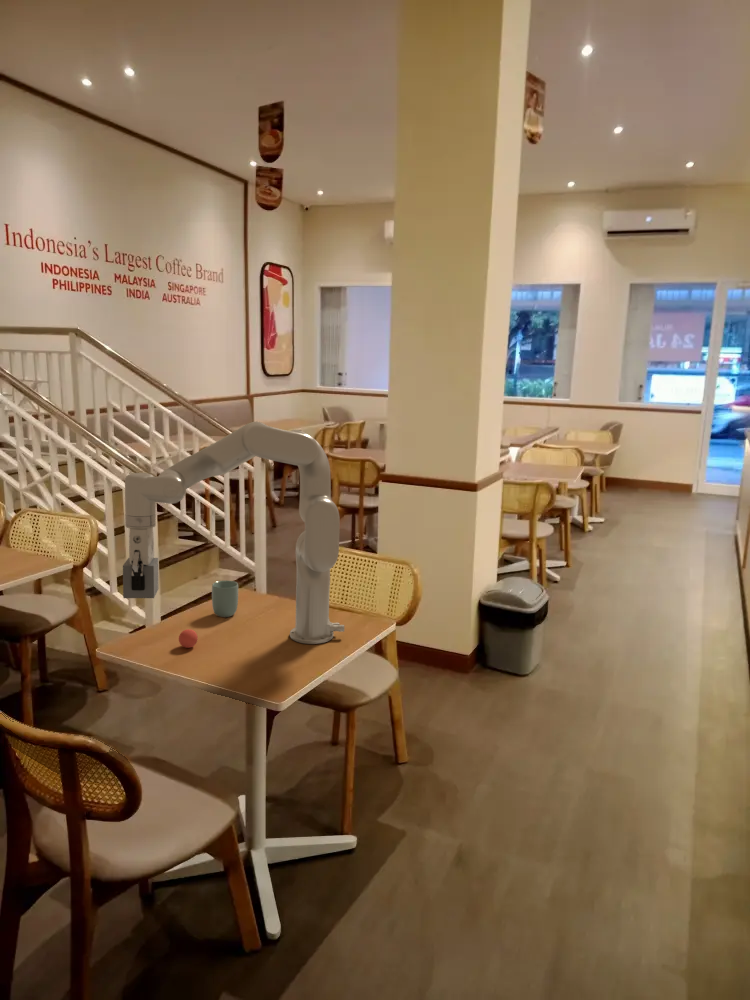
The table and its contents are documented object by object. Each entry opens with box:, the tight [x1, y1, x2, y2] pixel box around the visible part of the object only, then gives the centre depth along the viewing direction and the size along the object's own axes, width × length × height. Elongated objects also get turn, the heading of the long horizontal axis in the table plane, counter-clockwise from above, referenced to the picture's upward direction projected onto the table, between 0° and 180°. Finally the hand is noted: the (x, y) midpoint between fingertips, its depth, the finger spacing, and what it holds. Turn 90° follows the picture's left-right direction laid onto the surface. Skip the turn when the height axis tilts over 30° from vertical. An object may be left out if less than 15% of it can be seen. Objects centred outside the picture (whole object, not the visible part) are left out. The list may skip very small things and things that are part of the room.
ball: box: [178, 628, 199, 649], centre depth 194 cm, size 5×5×5 cm
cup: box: [211, 580, 239, 618], centre depth 219 cm, size 8×8×10 cm
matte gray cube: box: [122, 557, 159, 599], centre depth 189 cm, size 8×8×9 cm
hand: (141, 584), depth 189 cm, fingers closed on matte gray cube, 7 cm apart
